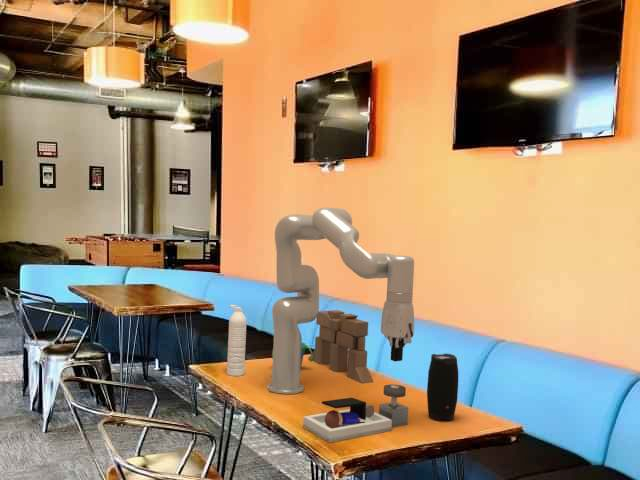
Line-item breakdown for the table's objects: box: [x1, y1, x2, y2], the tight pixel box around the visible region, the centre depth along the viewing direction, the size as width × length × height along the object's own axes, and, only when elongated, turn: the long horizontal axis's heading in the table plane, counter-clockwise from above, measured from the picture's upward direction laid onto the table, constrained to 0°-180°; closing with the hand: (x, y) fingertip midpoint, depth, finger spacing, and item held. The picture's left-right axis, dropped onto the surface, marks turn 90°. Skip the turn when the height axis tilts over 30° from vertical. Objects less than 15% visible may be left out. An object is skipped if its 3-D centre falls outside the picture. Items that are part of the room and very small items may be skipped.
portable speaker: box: [426, 353, 459, 422], centre depth 182 cm, size 8×9×19 cm
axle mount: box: [378, 401, 409, 428], centre depth 176 cm, size 6×6×5 cm
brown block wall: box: [307, 309, 374, 385], centre depth 236 cm, size 40×9×23 cm, turn 32°
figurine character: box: [321, 397, 375, 429], centre depth 169 cm, size 7×8×15 cm
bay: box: [302, 408, 393, 444], centre depth 168 cm, size 13×21×3 cm, turn 123°
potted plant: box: [271, 342, 313, 370], centre depth 233 cm, size 16×10×10 cm
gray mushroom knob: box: [382, 383, 407, 408], centre depth 176 cm, size 6×6×7 cm
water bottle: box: [226, 304, 247, 377], centre depth 223 cm, size 9×6×25 cm
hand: (396, 360), depth 175 cm, fingers closed
